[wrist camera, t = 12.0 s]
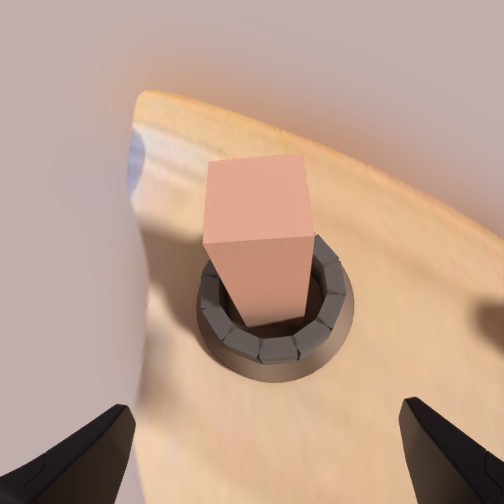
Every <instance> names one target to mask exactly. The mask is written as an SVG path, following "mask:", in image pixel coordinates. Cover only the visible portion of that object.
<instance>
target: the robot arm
mask: <svg viewBox="0 0 504 504" xmlns="http://www.w3.org/2000/svg"><path fill="white" fill-rule="evenodd" d="M399 425H400V430H401V436H402V441H403V447H404V453H405V459H406V463H407V466H408V470H409V473H410V477H411V480H412V484H413V487H414V491H415V495H416V498H417V502H418V504H504V462H503V461H502V460H500V459H499V458H497V457H496V456H494V455H493V454H492V453H490V452H489V451H486V449H485V448H484V447H482V446H481V445H479V444H478V443H477V442H476V441H474V440H473V439H472V438H470V437H469V436H468V435H466V434H465V433H464V432H462V431H461V430H460V429H458V428H457V427H456V426H454V425H453V424H452V423H450V422H449V421H448V420H446V419H445V418H444V417H442V416H441V415H440V414H438V413H437V412H436V411H435V410H433V409H432V408H431V407H429V406H428V405H427V404H425V403H424V402H423V401H421V400H420V399H419V398H417V397H410V398H406V399H404V401H403V403H402V407H401V410H400V414H399ZM135 427H136V423H135V420H134V417H133V415H132V413H131V411H130V409H129V407H128V406H127V405H121V404H116V405H114V406H113V407H111V408H110V409H109V410H107V411H106V412H104V413H103V414H101V415H100V416H98V417H97V418H96V419H94V420H93V421H91V422H90V423H88V424H87V425H86V426H84V427H82V428H81V429H80V430H78V431H77V432H75V433H74V434H72V435H71V436H69V437H68V438H66V439H65V440H63V441H62V442H60V443H59V444H57V445H56V446H54V447H53V448H51V449H49V450H48V451H46V453H43V454H42V455H40V456H39V457H37V458H35V459H34V460H32V461H30V462H29V463H27V464H25V465H23V466H21V467H20V468H18V469H16V470H13V471H11V472H9V473H8V474H5V475H3V476H1V477H0V504H114V503H115V500H116V497H117V494H118V491H119V487H120V484H121V482H122V479H123V476H124V473H125V470H126V467H127V463H128V460H129V455H130V451H131V446H132V441H133V437H134V432H135Z"/></svg>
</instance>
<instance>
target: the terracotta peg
mask: <svg viewBox="0 0 504 504" xmlns="http://www.w3.org/2000/svg"><path fill="white" fill-rule="evenodd" d="M314 239H315V233H314V226H313V218H312V211H311V204H310V197H309V191H308V184H307V178H306V172H305V165H304V159H303V154H290V155H276V156H263V157H252V158H241V159H232V160H222V161H214V162H209V165H208V177H207V188H206V201H205V214H204V228H203V246H204V248H205V250H206V251H207V253H208V255H209V257H210V259H211V261H212V263H213V265H214V267H215V269H216V271H217V272H218V274H219V276H220V278H221V280H222V282H223V284H224V286H225V287H226V289H227V291H228V293H229V295H230V297H231V299H232V300H233V302H234V304H235V306H236V308H237V310H238V311H239V313H240V315H241V317H242V319H243V321H244V322H245V324H246V326H247V328H248V329H252V328H272V327H289V326H303V321H304V315H305V308H306V301H307V294H308V287H309V279H310V272H311V264H312V256H313V247H314Z"/></svg>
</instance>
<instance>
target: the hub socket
mask: <svg viewBox="0 0 504 504" xmlns="http://www.w3.org/2000/svg"><path fill="white" fill-rule="evenodd" d="M314 233H315V232H314ZM338 260H339V257H338V256H337V255H336V254H335V253H334V252H333V251H332V249H331V248H330V247H329V246H328V245H327V244H326V243H325V242H324V241H323V239H322V238H321V237H320V236H319V235H318V234H317V235H316V236H315V239H314V247H313V256H312V264H311V272H310V279H309V287H308V294H307V301H306V308H305V315H304V321H303V326H289V327H272V328H252V329H248V328H247V326H246V324H245V322H244V321H243V319H242V317H241V315H240V313H239V311H238V310H237V308H236V306H235V304H234V302H233V300H232V299H231V297H230V295H229V293H228V291H227V289H226V287H225V286H224V284H223V282H222V280H221V278H220V276H219V274H218V272H217V271H216V269H215V267H214V265H213V263H212V261H211V259H210V260H209V261H208V263H207V265H206V266H205V268H204V270H203V272H202V274H203V276H201V285H200V288H199V292H198V297H197V320H198V324H199V328H200V331H201V334H202V337H203V339H204V341H205V342H206V344H207V346H208V348H209V349H210V350H211V352H212V353H213V354H214V355H215V356H216V358H217V359H218V360H219V361H220V362H222V363H223V364H224V365H225V366H227V367H228V368H229V369H231V370H233V371H234V372H236V373H238V374H240V375H242V376H244V377H247V378H249V379H253V380H257V381H261V382H270V383H275V382H287V381H293V380H296V379H299V378H303V377H305V376H307V375H309V374H311V373H313V372H315V371H317V370H318V369H320V368H321V367H323V366H324V365H325V364H326V363H327V362H328V361H330V360H331V358H332V357H333V356H334V355H335V354H336V353H337V352H338V351H339V349H340V348H341V346H342V345H343V343H344V342H345V340H346V338H347V335H348V333H349V331H350V328H351V325H352V321H353V315H354V295H353V290H352V286H351V282H350V280H349V277H348V275H347V273H346V271H345V269H344V268H343V266H342V265H341V261H338Z"/></svg>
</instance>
